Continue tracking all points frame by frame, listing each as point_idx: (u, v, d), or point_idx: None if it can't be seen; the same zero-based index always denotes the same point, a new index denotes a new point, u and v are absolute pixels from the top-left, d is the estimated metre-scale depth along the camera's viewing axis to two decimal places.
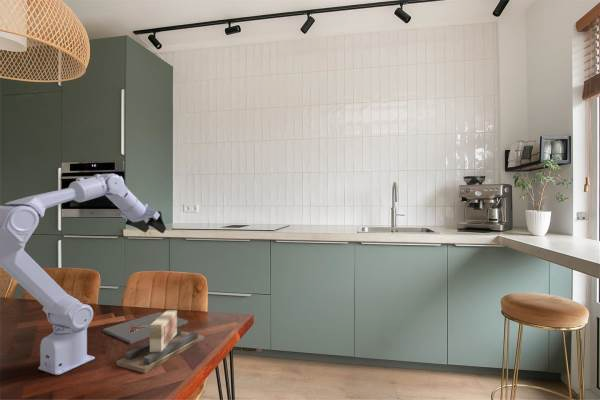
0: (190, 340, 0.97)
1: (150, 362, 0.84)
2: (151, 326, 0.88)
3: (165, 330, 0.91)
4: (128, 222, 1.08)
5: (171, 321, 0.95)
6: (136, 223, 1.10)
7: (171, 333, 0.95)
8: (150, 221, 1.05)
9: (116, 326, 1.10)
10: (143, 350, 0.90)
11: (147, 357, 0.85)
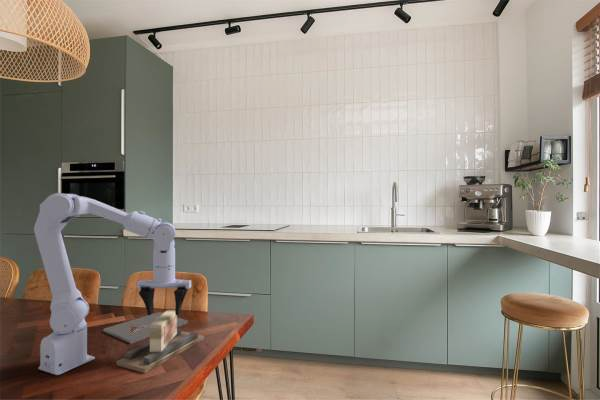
0: (190, 340, 0.97)
1: (150, 362, 0.84)
2: (151, 326, 0.88)
3: (165, 330, 0.91)
4: (143, 291, 0.92)
5: (171, 321, 0.95)
6: (149, 297, 0.93)
7: (171, 333, 0.95)
8: (179, 289, 0.93)
9: (116, 326, 1.10)
10: (143, 350, 0.90)
11: (147, 357, 0.85)
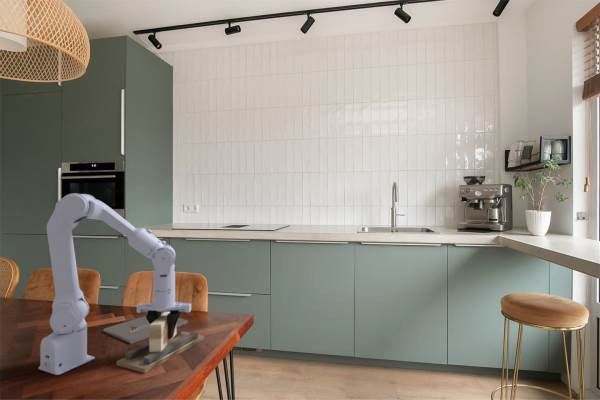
0: (190, 340, 0.97)
1: (150, 362, 0.84)
2: (151, 326, 0.88)
3: (165, 330, 0.90)
4: (151, 315, 0.92)
5: None
6: None
7: None
8: (172, 313, 0.92)
9: (116, 326, 1.10)
10: (143, 350, 0.90)
11: (147, 357, 0.85)
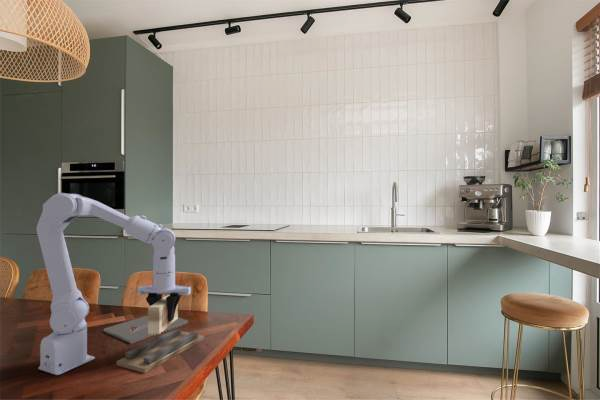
0: (190, 340, 0.97)
1: (150, 362, 0.84)
2: (149, 308, 0.88)
3: (164, 313, 0.90)
4: (150, 297, 0.92)
5: None
6: None
7: None
8: (171, 296, 0.92)
9: (116, 326, 1.10)
10: (143, 350, 0.90)
11: (147, 357, 0.85)
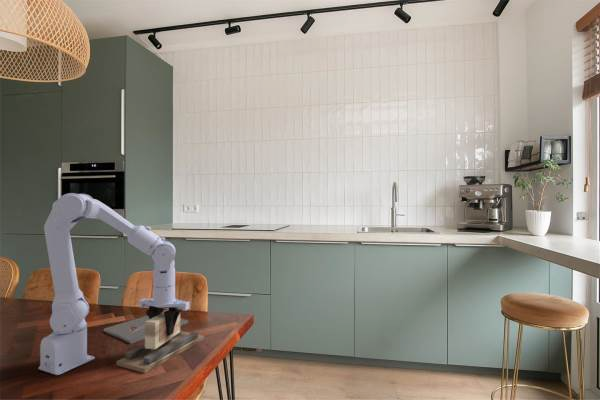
0: (190, 340, 0.97)
1: (150, 362, 0.84)
2: (146, 323, 0.88)
3: (161, 328, 0.90)
4: (150, 311, 0.93)
5: None
6: None
7: None
8: (170, 310, 0.92)
9: (116, 326, 1.10)
10: (143, 350, 0.90)
11: (147, 357, 0.85)
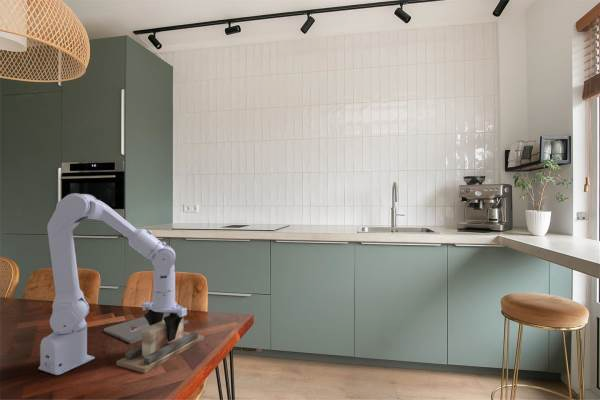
0: (190, 340, 0.97)
1: (150, 362, 0.84)
2: (143, 330, 0.89)
3: (158, 336, 0.90)
4: (148, 314, 0.94)
5: None
6: (154, 320, 0.94)
7: None
8: (169, 316, 0.91)
9: (116, 326, 1.10)
10: None
11: (147, 357, 0.85)
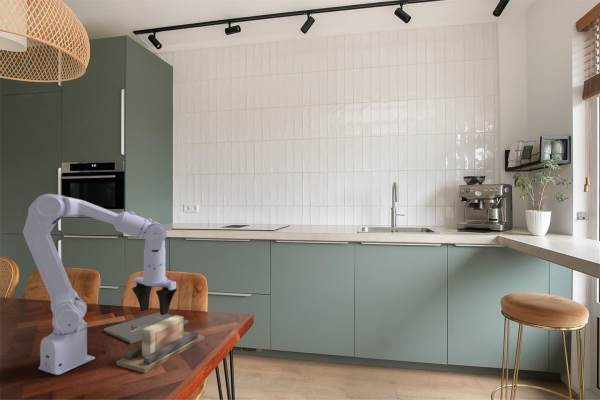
0: (190, 340, 0.97)
1: (150, 362, 0.84)
2: (143, 330, 0.89)
3: (158, 336, 0.90)
4: (136, 287, 0.96)
5: (171, 327, 0.94)
6: (142, 293, 0.96)
7: (171, 339, 0.94)
8: (162, 290, 0.92)
9: (117, 326, 1.10)
10: None
11: (147, 357, 0.85)
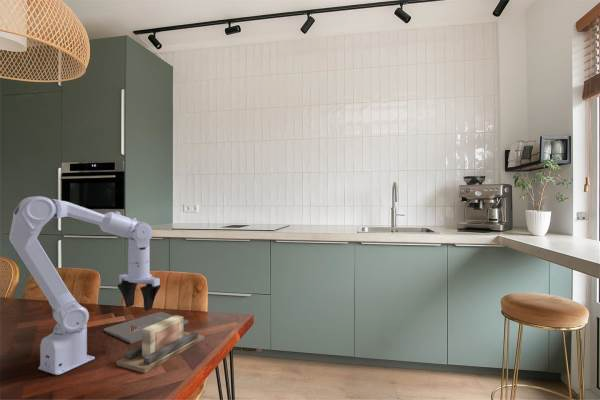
0: (190, 340, 0.97)
1: (150, 362, 0.84)
2: (143, 330, 0.89)
3: (158, 336, 0.90)
4: (121, 284, 0.99)
5: (171, 327, 0.94)
6: (127, 290, 1.00)
7: (171, 339, 0.94)
8: (146, 286, 0.96)
9: (117, 326, 1.10)
10: None
11: (147, 357, 0.85)
